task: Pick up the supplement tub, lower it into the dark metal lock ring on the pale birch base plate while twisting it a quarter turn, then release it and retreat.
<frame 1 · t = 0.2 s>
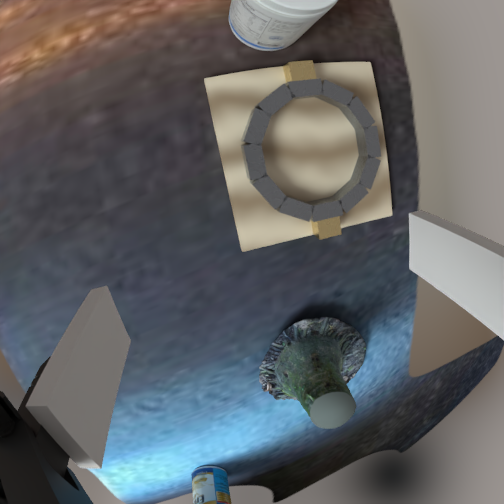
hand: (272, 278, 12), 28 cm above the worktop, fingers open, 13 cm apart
tree stump: (310, 358, 50), on the worktop
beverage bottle: (209, 472, 58), on the worktop
base plate: (308, 148, 38), on the worktop
lock ring: (314, 149, 36), on the base plate, point 2 cm above the worktop
supplement tub: (264, 22, 32), on the worktop
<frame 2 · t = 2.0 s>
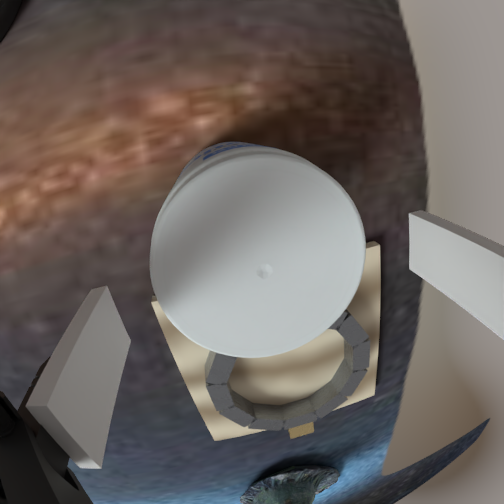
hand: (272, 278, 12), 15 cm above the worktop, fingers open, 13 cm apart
tree stump: (287, 482, 45), on the worktop
base plate: (284, 357, 33), on the worktop
lock ring: (290, 371, 31), on the base plate, point 2 cm above the worktop
supplement tub: (230, 198, 26), on the worktop
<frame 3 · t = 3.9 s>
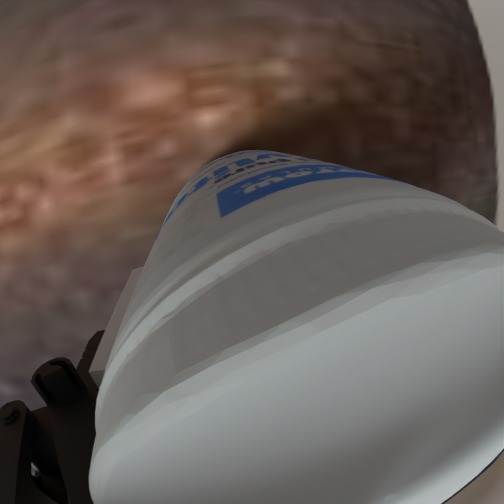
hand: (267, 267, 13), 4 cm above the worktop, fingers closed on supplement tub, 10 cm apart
supplement tub: (251, 237, 17), on the worktop, touching gripper
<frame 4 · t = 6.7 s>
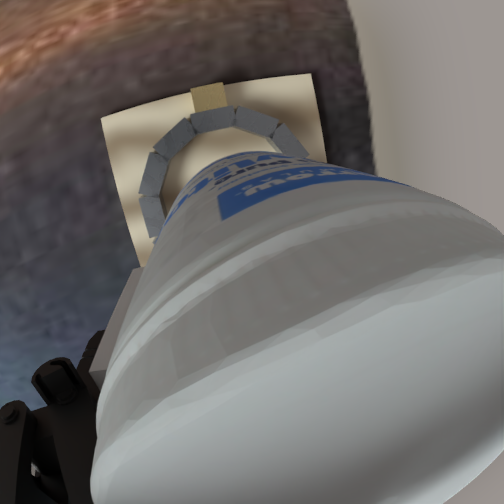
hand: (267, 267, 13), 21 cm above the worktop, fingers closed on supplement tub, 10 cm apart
base plate: (227, 191, 33), on the worktop
lock ring: (228, 194, 30), on the base plate, point 2 cm above the worktop
supplement tub: (251, 238, 17), point 17 cm above the worktop, touching gripper
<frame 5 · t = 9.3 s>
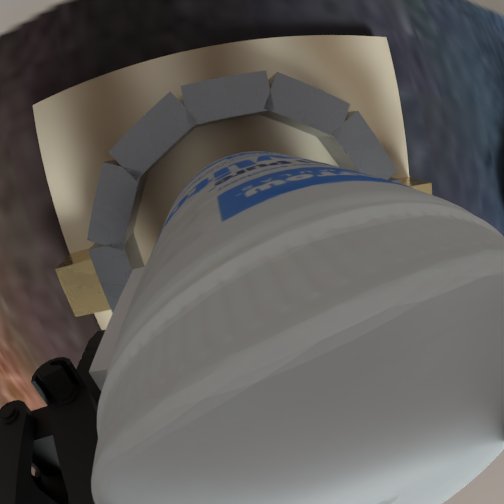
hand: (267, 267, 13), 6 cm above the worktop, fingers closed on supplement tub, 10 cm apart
base plate: (247, 228, 19), on the worktop
lock ring: (254, 240, 17), on the base plate, point 2 cm above the worktop
supplement tub: (251, 238, 17), point 2 cm above the worktop, touching gripper
when the fingers open (6 cm above the worktop, at t = 9.9 s): supplement tub stays where it is, resting on base plate.
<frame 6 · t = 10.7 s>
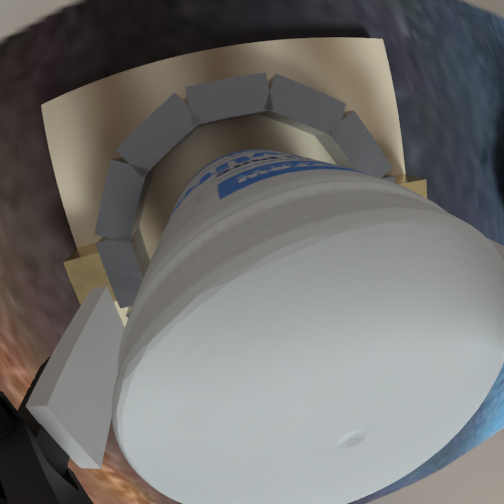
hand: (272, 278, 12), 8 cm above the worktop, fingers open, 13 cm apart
base plate: (249, 223, 20), on the worktop
lock ring: (255, 234, 18), on the base plate, point 2 cm above the worktop
supplement tub: (251, 228, 19), point 1 cm above the worktop, touching base plate
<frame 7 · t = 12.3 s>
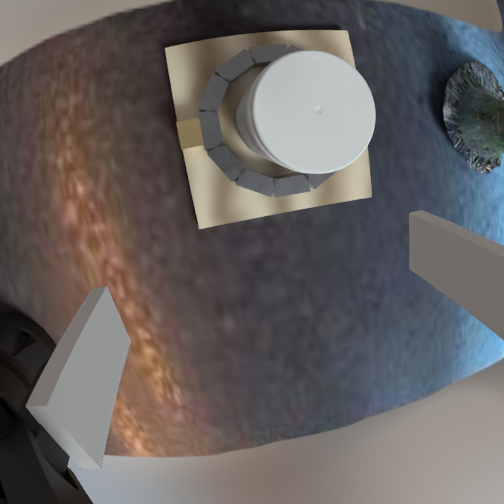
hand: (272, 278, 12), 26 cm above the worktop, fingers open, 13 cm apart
tree stump: (475, 116, 37), on the worktop
base plate: (274, 120, 34), on the worktop
lock ring: (279, 118, 32), on the base plate, point 2 cm above the worktop
supplement tub: (276, 120, 33), point 1 cm above the worktop, touching base plate
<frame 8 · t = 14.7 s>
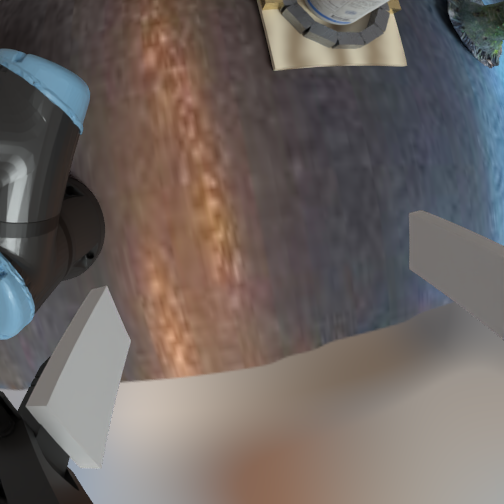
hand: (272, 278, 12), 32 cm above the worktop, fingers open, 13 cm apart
tree stump: (472, 28, 37), on the worktop
base plate: (328, 3, 34), on the worktop
supplement tub: (330, 1, 34), point 1 cm above the worktop, touching base plate
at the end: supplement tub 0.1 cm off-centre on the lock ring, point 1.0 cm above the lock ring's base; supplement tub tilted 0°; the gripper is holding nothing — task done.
